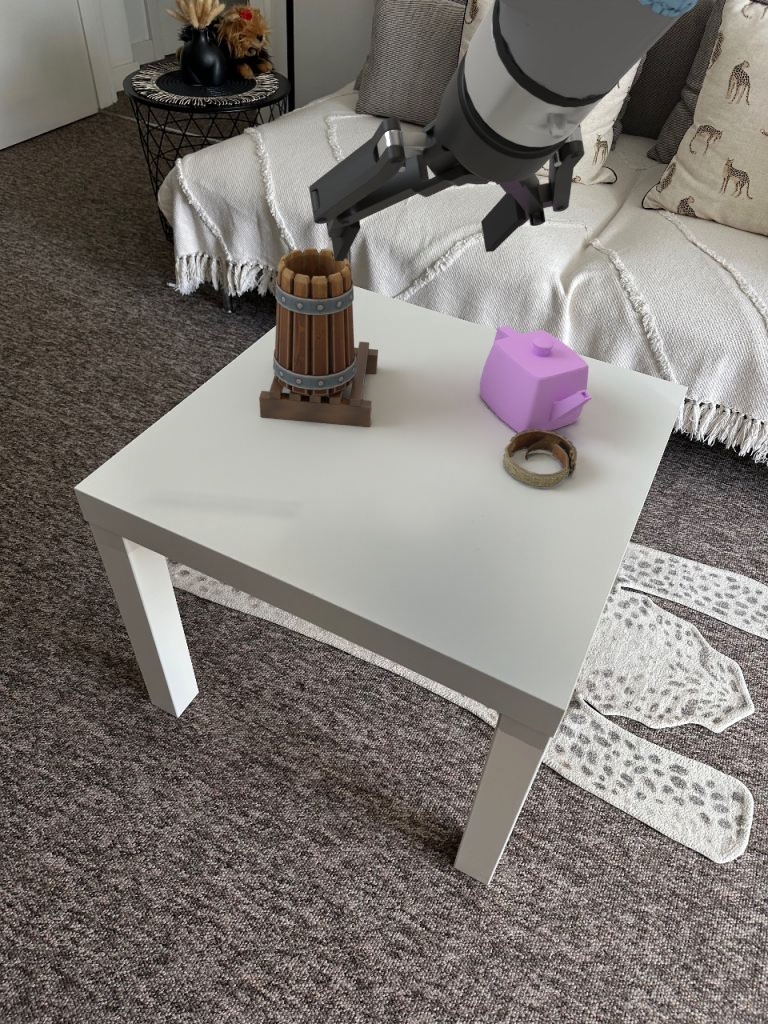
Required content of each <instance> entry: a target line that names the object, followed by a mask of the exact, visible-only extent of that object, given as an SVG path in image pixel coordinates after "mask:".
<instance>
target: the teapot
mask: <svg viewBox="0 0 768 1024" xmlns="http://www.w3.org/2000/svg"><path fill="white" fill-rule="evenodd" d="M588 379H589V364H588V363H587V362H586V360H585V359H584V358H582V356H581V355H579V354H578V353H576V351H574V350H573V349H572V348H571V347H570V346H568V345H567V344H565V343H564V342H563V341H562V340H560V339H559V338H557V337H556V336H555V335H553V334H551V333H550V332H548V331H546V330H544V329H538V330H534V331H529V332H523V333H520V332H519V331H517V330H516V329H514V328H513V327H511V326H510V325H509V324H508V325H503V326H498V327H497V328H496V332H495V337H494V340H493V344H492V346H491V348H490V350H489V352H488V355H487V358H486V360H485V363H484V366H483V368H482V372H481V376H480V380H479V394H480V397H481V399H482V400H483V401H484V403H485V404H486V405H487V406H488V407H489V408H490V409H491V411H492V412H493V413H494V414H495V415H496V416H497V417H498V418H499V419H500V420H501V421H503V422H504V423H505V424H506V425H507V426H509V427H510V428H511V429H512V430H514V431H515V432H516V433H521V431H523V430H529V429H535V430H538V429H541V430H550V431H553V430H556V429H559V428H563V427H565V426H568V425H572V424H574V423H575V422H577V420H578V418H579V417H580V415H581V413H582V411H583V408H584V405H586V404H588V402H589V401H591V400H592V399H593V397H592V396H591V394H589V392H588V390H587V389H588V381H589V380H588Z"/></svg>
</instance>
